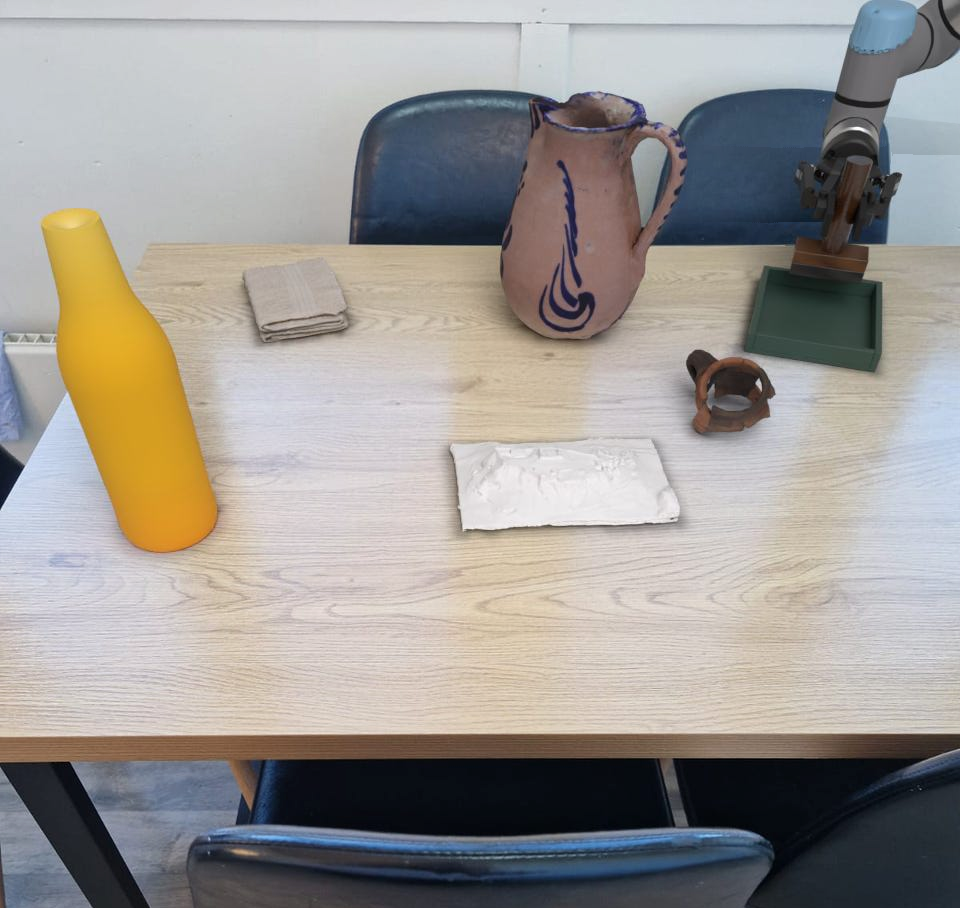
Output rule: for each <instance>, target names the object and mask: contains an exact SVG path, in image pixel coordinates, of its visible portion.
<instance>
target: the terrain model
mask: <svg viewBox="0 0 960 908" xmlns="http://www.w3.org/2000/svg"><path fill="white" fill-rule="evenodd" d="M449 451H450V452H451V455H452V457H453V461H454V462H453V463H454V465H455V466H454V467H455V475H456V481H457V482H456V484H457V493H456V495H457V496H458V505H457V509H459V511H460V519H461V520H460V521H461V532H462V533H465V532H466V531H467V530H475V529H478V530H484V531H495V530H501V529H509V528H514V527H515V528H519V527H520V528H525V527H529V528H530V527H534V528H535V527H542V526H548V525H550V526H552V527H553V526H554V527H555V526H556V527H558V526H559V527H563V526H564V527H566V526H600V525H601V526H603V525H604V526H622V525H623V526H624V525H641V524H645V523H648V524H660V523H661V524H665V523H673V522H674V523H675V522H676V523H677V521H678V520H679V518H678V517H679V516H680V514H681V506H680V503H679V499H678V496H677V494H676V493H675V491H674V489H673V488H672V486H670V484H669V481H668V479H667V478H668V476H667V475H666V472H665V471H664V468H663V466H664V465H663V464H662V460H661V457H660V454H659V453H658V450H657V449H656V447H655V444H654V443H653V441H652V439H651V438H619V437H615V438H609V439H608V438H607V437H604V436H600V437H597V438H595V437H594V438H590V437H588V439H582V440H581V439H580V440H574V441H552V442H535V441H534V442H521V443H501V442H499V441H495V440H494V441H484V442H476V443H458V442H457V443H455V442H453V443H452V444H450V448H449Z"/></svg>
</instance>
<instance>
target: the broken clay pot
mask: <svg viewBox="0 0 960 908" xmlns="http://www.w3.org/2000/svg"><path fill="white" fill-rule="evenodd" d="M685 366H686V369H687V372H688V375H689V376H690V378H691V380H692V382H693V383H694V386H695V390H694V394H695V396H694V397H695V398H694V399H695V406H696V409H697V412H696V414H695V416H694V418H693V419H692V426H693V428H694V429H695V430H696V432H698V433H699V434H703V433H706V431H707V432H708V433H737V432H743V431H744V429H745V428H748V429H750V428H751V427H754V426H755V425H756V424H757V423H759V422H760V421H761V420H764V419H769V418H771V409H770V405H769V401H768V400H771V399H773V398H774V397H775V396H776V389H775V387H774V386H773V384H772V381H771V380H770V378H769V375H768V374H767V372H766V370H765V369H764V368H763V367H761V366H760V365H759V364H758V363H756V362H754V361H753V360H751V359H748V358H743V357H742V356H730V357H725V358H722V359H719V360H718V358H716V357H714V355H713V354H711V353H710V352H708V351H705V350H704V349H694V350H693V351H692V352H691V353H689V354H688V355H687V358H686V360H685ZM758 381H760V384H761V385H760V386H761V389H760V387H759V386H758V385H757V382H758ZM713 386H714V387H713ZM712 387H713V389H714V394H713V395H714V398H716V399H717V398H721V397H725V396H739V397H743V398H746V399H747V400H748V401H749V402H750V403H752V405H751V406H749V407H747V408H744V409H741V410H727V409H724V408H721V407H719V406H717V405H716V404H712V406H711V408H710V407H709V406H708V403H707V401H708V400H709V395H708V393H709V391H710V390H711V388H712Z"/></svg>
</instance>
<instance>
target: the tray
mask: <svg viewBox="0 0 960 908" xmlns="http://www.w3.org/2000/svg"><path fill="white" fill-rule="evenodd" d="M789 269H790V268H787V267H778V266H772V265H771V266H770V265H763V267H762V272H761V276H760V279H759V283H758V287H757V293H756V297H755V301H754V305H753V306H754V307H753V311H752V316H751V319H750V320H751V321H750V324H749V325H750V326H749V329H748V334H747V339H746V343H745V348H744V352H745V353H753V354H758V355H765V356H770V357H777V358H782V359H783V358H784V359H789V360H790V359H791V360H795V361H802V362H808V363H815V364H820V365H827V366H832V367H833V366H834V367H840V368H845V369H853V370H859V371H863V372H864V371H865V372H871V373H876V371H877V369H878V365H879V363H880V360H881V357H882V355H883V281H878V280H873V279H865V278H863V279H862V282H861V284H854V283H847V282H840V281H833V280H826V279H819V278H813V277H806V276H799V275H792V274H789Z"/></svg>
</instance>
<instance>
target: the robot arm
mask: <svg viewBox="0 0 960 908" xmlns="http://www.w3.org/2000/svg"><path fill="white" fill-rule="evenodd" d="M845 51H846V52H845V55H844V59H843V62H842V66H841V70H840V73H839V77H838V82H837V86H836V89H835V92H834V95H833V99H832V102H831V106H830V110H829V113H828V116H827V117H826V119H825V122H824V127H823V129H822V135H821V136H822V146H821V152H820V157H819V162H817V163H816V165H815V164H814V163H813V164H811V163H809V162H808V161H806V160H800V161H798V165H797V168H796V172H795V176H794V179H793V183H794V184H795V185H796V186H797V187H798V196H799V208H800V209H801V210H804V211H805V210H810V208H813V209H814V210H813V214H812V219H814V220H817V221H819V220H821V227H820V234H819V237H822V238H823V237H827V234H828V231H829V228H830V225H831V221H832V218H833V215H834V206H835V196H836V193H837V190H838V186H839V183H840V180H841V176H842V173H843V170H844V166H845V163H846V160H847V158H848V157H849V156H864V157H868V158H870V159H872V160H873V164H872V167H871V170H870V173H869V176H868V179H867V182H866V185H865V188H864V191H863V195H862V198H861V201H860V204H859V207H858V210H857V213H856V216H855V219H854V222H853V226H852V233H851V234H852V235H851V241H852V242H857V243H858V242H859V241H860V238H861V235H862V232H863V229H864V227H870V226H872V222H873V219H874V218H875V219H876V220H879V221H882V220H885V219H886V214H887V212H888V210H889V207H890V204H891V202H892V198H893V197H895V196H896V195H897V192H898V188H899V186H900V183H901V180H902V177H903V174H902V173H901V172H898V171H894V172H891V174H890V173H885V175H883V170H882V169H881V168H880V167H879V164H880V163H879V162H880V161H879V159H880V158H879V157H880V135H881V130H882V127H883V124H884V121H885V118H886V115H887V113H888V112H887V111H888V109H889V105H890V103H891V100H892V97H893V94H894V90H895V88H896V85H897V82H898V79H901V78H904V77H907V76H911V75H913V74H915V73H919V72H923V71H925V70H931V69H934V68H938V67H939V66H941V65H943V64H944V63H946V62H947V61H949V60H951V59H953V58H955V56H957V54H959V52H960V0H927V1H926V2H925V3H924V4H923V5H921V6H920V7H919V8H917V7H916V5H915V4H914V3H911V2H909V1H905V0H868V1H866V2H865V3H863V5H861V7H860V8H859V9H858V12H857V16H856V18H855V22H854V24H853V27H852V30H851V32H850V34H849V38H848V44H847V47H846V50H845ZM816 182H817V183H819V184H820V186H821V188H820V190H819V192H818V191H815V190H816ZM876 187H878V188H879V189H880V190H879V191H876V190H874V188H876ZM878 195H880V196H879V199H877V198H878Z"/></svg>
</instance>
